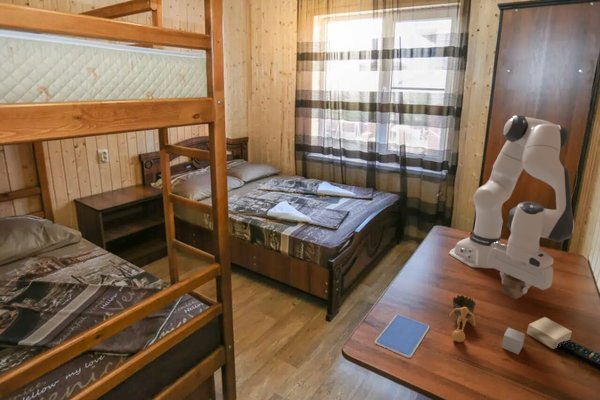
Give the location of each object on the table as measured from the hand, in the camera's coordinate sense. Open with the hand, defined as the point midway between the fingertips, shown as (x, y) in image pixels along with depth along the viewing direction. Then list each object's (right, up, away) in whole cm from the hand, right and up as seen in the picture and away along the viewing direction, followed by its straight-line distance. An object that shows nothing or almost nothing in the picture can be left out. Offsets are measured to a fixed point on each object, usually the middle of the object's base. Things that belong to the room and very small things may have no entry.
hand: (513, 288), depth 130 cm
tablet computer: (-37, -17, +1) cm, 41 cm away
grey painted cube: (-3, -18, -5) cm, 19 cm away
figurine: (-19, -17, -1) cm, 26 cm away
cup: (-14, -14, +9) cm, 22 cm away
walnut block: (0, -2, +1) cm, 2 cm away
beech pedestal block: (+11, -17, 0) cm, 20 cm away
